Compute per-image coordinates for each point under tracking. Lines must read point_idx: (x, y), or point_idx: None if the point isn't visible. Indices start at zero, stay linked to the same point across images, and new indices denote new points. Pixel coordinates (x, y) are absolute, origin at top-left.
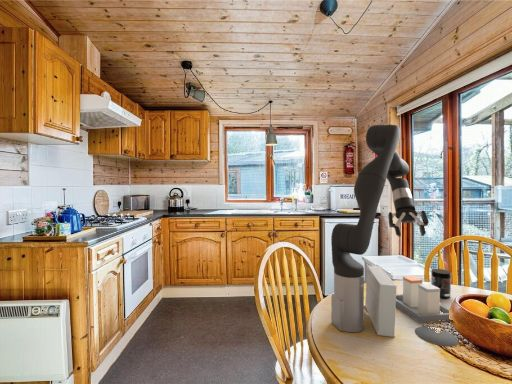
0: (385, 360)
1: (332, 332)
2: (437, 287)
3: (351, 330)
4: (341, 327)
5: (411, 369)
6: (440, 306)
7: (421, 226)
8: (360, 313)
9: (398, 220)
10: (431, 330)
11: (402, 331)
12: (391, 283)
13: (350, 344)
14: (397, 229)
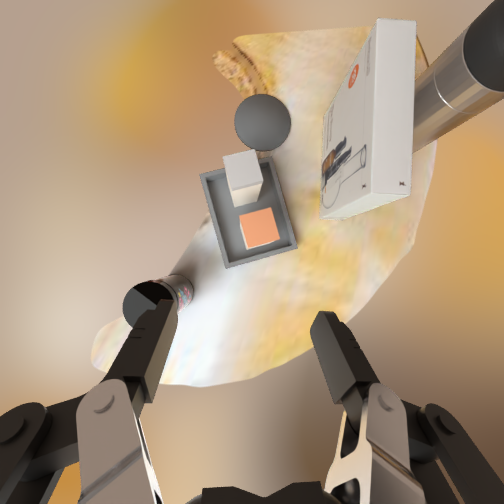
0: (351, 61)
1: None
2: (225, 164)
3: None
4: None
5: (325, 46)
6: (213, 207)
7: (139, 366)
8: None
9: (408, 477)
10: (262, 136)
11: (305, 135)
12: (385, 33)
13: None
14: (353, 359)
